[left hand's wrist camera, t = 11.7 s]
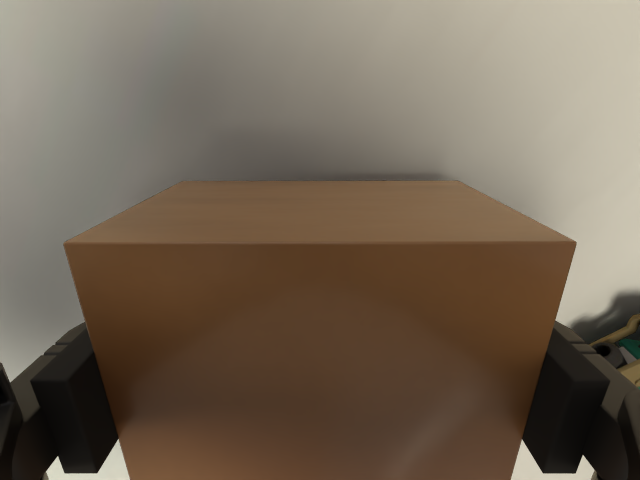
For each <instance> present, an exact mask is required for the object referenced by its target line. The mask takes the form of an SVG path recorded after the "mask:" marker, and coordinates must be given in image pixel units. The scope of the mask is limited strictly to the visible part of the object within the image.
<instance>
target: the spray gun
mask: <svg viewBox="0 0 640 480" xmlns="http://www.w3.org/2000/svg"><path fill="white" fill-rule="evenodd" d="M639 324H640V314H637V315H633V316H632V317H631V318H630V319H629V321H628V323H627V325H626V327H623V328H621V329H619V330H617V331H615V332H613V333H611V334H609V335H607V336H605V337H603V338H601V339H599V340H597V341H595V342H593V343H591V344H589V345H590V346H591V347H592V348H593V349H594V350H595V351H596V352H597V354H600V355H601V356H602V357H603V358H604V359H606V360H607V361H608V362H609V363H610V364H611V365H612V366H614V367H615V368H616V369H617V370H618V371H619V372H620V373H622V374H623V375H624V376H625V377H626V378H627V379H628V380H629V381H631V382H632V383H633V384H634V385H635V386H636V387H637V388H639V389H640V341H637V340H632V339H623V338H625V337H627V336H629V335H631V334H633V333H635V332H636V330H637V328H638V326H639ZM621 339H622V340H621ZM619 340H620V342H619V345H620V348H618V347H617V346H616V344H615V342H616V341H619Z"/></svg>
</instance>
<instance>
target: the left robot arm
mask: <svg viewBox="0 0 640 480" xmlns="http://www.w3.org/2000/svg"><path fill="white" fill-rule="evenodd" d="M117 440H118V435H117V432H116V428H115V424H114V421H113V417H112V414H111V410H110V407H109V403H108V400H107V396H106V393H105V389H104V386H103V382H102V379H101V375H100V372H99V368H98V365H97V361H96V358H95V354H94V351H93V347H92V344H91V340H90V337H89V333H88V330H87V326H86V322H84V323H82V324H80V325H79V326H77V327H75V328H73V329H71V330H70V331H68V332H67V333H66V334H65V335H64V336H63V337H61V338H60V339H59V340H58V341H57V342H56V344H55V345H52V346H51V347H50V348H49V349H48V350H47V351H46V352H45V353H44V355H41V356H40V357H39V358H38V359H37V360H36V361H34V362H33V363H32V364H31V365H30V366H29V367H28V368H26V369H25V370H24V371H23V372H22V373H21V374H20V375H19V376H17V377H16V378H15V379H14V380H13V381H12V382H11V383H10V382H9V379H8V377H7V374H6V372H5V369H4V367H3V365H2V363H0V480H49V479H48V476H47V473H46V471H47V469H48V468H49V467H50V465H51V464H52V463H53V461H54V460H55V459H56V457H57V456H58V457H59V459H60V462H61V465H62V467H63V470H64V473H98V471H99V470H100V468H101V466H102V465H103V463H104V461H105V460H106V458H107V456H108V455H109V453H110V452H111V450H112V448H113V447H114V445H115V443H116V442H117ZM522 440H523V441H524V443H525V445H526V446H527V448H528V449H529V451H530V453H531V454H532V456H533V458H534V459H535V461H536V463H537V464H538V466H539V467H540V469H541V471H542V472H543V473H576V471H577V468H578V466H579V463H580V460H581V458H582V455H584V456H585V458H586V459H587V460H588V462H589V463H590V464H591V466H592V467H593V468H594V470H595V471H594V473H593V476H592V478H591V480H640V389H639V388H637V387H636V386H635V385H634V384H633V383H632V382H631V381H629V380H628V379H627V378H626V377H625V376H624V375H623V374H622V373H620V372H619V371H618V370H617V369H616V368H615V367H614V366H612V365H611V364H610V363H609V362H608V361H607V360H606V359H604V358H603V357H602V356H601V355H600V354H597V352H596V351H595V350H594V349H593V348H592V347H591V346H590V345H589V344H585V341H584V340H583V339H582V338H581V337H579V336H578V335H577V334H576V333H575V332H574V331H573V330H571V329H570V328H568V327H566V326H564V325H562V324H561V323H559V322H557V321H555V323H554V326H553V330H552V333H551V337H550V340H549V344H548V348H547V351H546V355H545V358H544V362H543V365H542V369H541V373H540V376H539V380H538V383H537V387H536V390H535V394H534V398H533V401H532V405H531V408H530V412H529V415H528V419H527V423H526V426H525V430H524V433H523V437H522Z"/></svg>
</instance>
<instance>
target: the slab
mask: <svg viewBox="0 0 640 480" xmlns="http://www.w3.org/2000/svg"><path fill="white" fill-rule="evenodd" d="M63 245H64V249H65V252H66V256H67V259H68V263H69V266H70V270H71V273H72V277H73V280H74V284H75V287H76V291H77V294H78V298H79V301H80V305H81V308H82V312H83V315H84V319H85V322H86V326H87V330H88V333H89V337H90V340H91V344H92V347H93V351H94V354H95V358H96V361H97V365H98V368H99V372H100V375H101V379H102V382H103V386H104V389H105V393H106V396H107V400H108V403H109V407H110V410H111V414H112V417H113V421H114V424H115V428H116V432H117V435H118V439H119V442H120V446H121V449H122V453H123V456H124V460H125V463H126V467H127V470H128V474H129V477H130V480H511V476H512V473H513V469H514V465H515V462H516V458H517V455H518V451H519V448H520V444H521V440H522V437H523V433H524V430H525V426H526V423H527V419H528V415H529V412H530V408H531V405H532V401H533V398H534V394H535V390H536V387H537V383H538V380H539V376H540V373H541V369H542V365H543V362H544V358H545V355H546V351H547V348H548V344H549V340H550V337H551V333H552V330H553V326H554V323H555V319H556V315H557V312H558V308H559V305H560V301H561V298H562V294H563V290H564V287H565V283H566V280H567V276H568V273H569V269H570V265H571V262H572V258H573V255H574V251H575V248H576V241H574V240H572V239H570V238H568V237H566V236H564V235H562V234H560V233H558V232H556V231H554V230H552V229H550V228H548V227H547V226H545V225H543V224H541V223H539V222H537V221H535V220H533V219H531V218H529V217H527V216H525V215H523V214H521V213H519V212H518V211H516V210H514V209H512V208H510V207H508V206H506V205H504V204H502V203H500V202H498V201H496V200H494V199H492V198H490V197H489V196H487V195H485V194H483V193H481V192H479V191H477V190H475V189H473V188H471V187H469V186H467V185H465V184H463V183H462V182H460V181H181V182H179V183H178V184H176V185H174V186H172V187H170V188H168V189H166V190H164V191H162V192H160V193H158V194H156V195H154V196H153V197H151V198H149V199H147V200H145V201H143V202H141V203H139V204H137V205H135V206H133V207H131V208H129V209H128V210H126V211H124V212H122V213H120V214H118V215H116V216H114V217H112V218H110V219H108V220H106V221H104V222H102V223H101V224H99V225H97V226H95V227H93V228H91V229H89V230H87V231H85V232H83V233H81V234H79V235H77V236H76V237H74V238H72V239H70V240H68V241H66V242H64V244H63Z"/></svg>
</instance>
